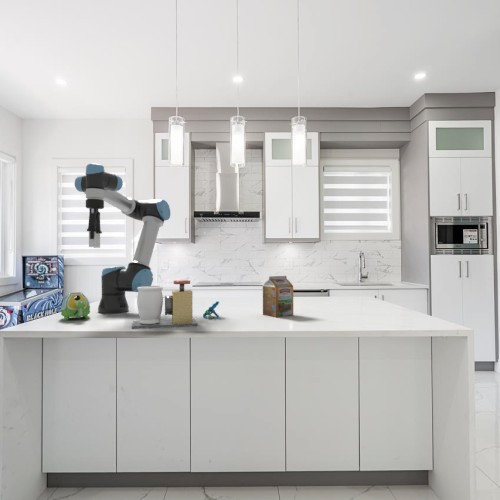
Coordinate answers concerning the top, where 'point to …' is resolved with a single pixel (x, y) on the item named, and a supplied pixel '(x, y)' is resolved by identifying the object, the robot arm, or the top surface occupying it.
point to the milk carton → (278, 297)
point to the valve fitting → (175, 309)
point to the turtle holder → (75, 306)
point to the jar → (150, 304)
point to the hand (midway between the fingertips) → (94, 247)
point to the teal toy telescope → (211, 311)
